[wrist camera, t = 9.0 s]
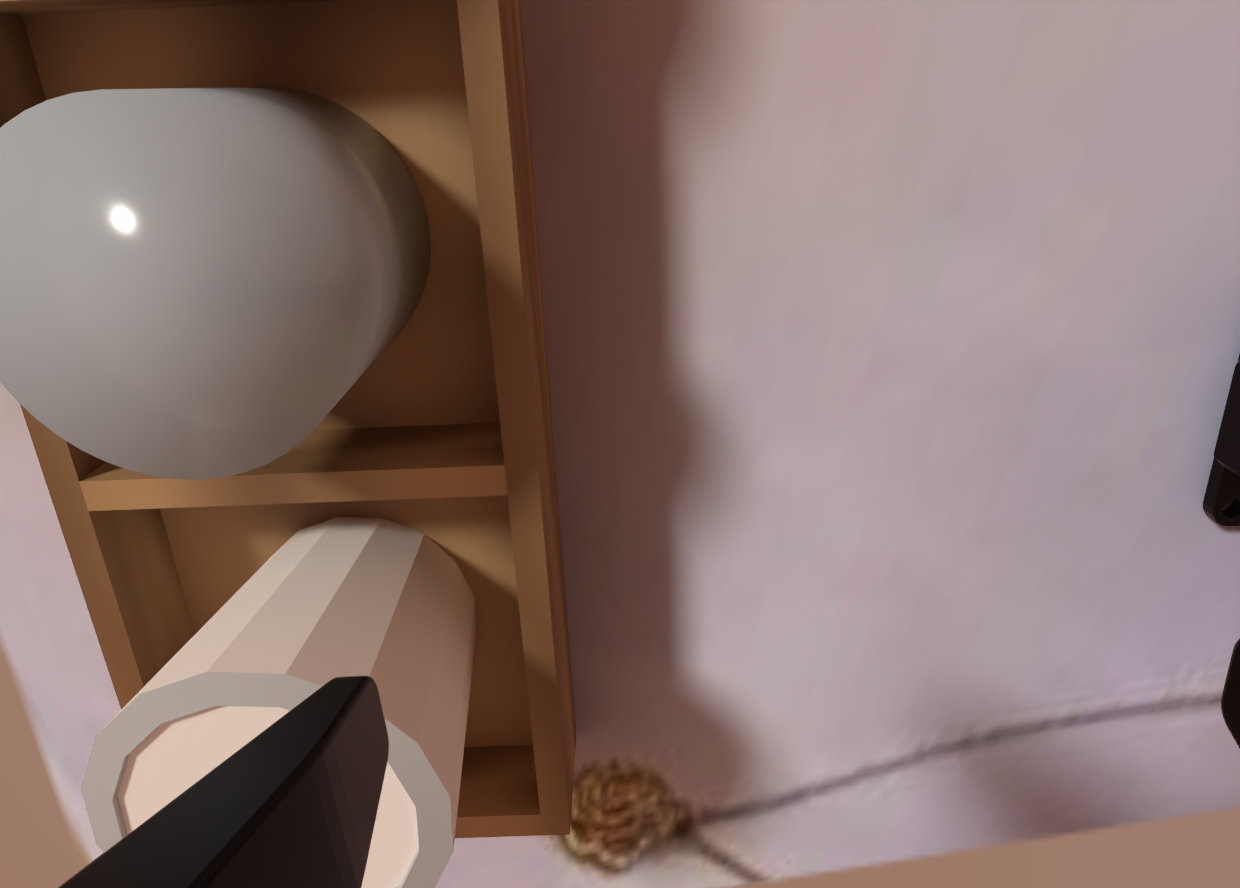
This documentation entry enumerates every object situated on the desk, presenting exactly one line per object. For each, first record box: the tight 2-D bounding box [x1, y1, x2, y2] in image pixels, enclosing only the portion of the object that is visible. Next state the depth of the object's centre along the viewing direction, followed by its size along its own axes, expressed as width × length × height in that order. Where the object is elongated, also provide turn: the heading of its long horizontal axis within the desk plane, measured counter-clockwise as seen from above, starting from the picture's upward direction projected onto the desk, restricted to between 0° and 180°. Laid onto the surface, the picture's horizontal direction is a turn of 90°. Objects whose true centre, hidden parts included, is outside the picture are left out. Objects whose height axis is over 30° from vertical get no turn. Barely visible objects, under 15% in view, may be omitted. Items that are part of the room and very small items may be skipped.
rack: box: [0, 0, 576, 838], centre depth 18 cm, size 10×30×4 cm, turn 2°
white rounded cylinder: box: [0, 87, 431, 480], centre depth 16 cm, size 6×6×6 cm
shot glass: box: [81, 517, 476, 888], centre depth 19 cm, size 7×7×7 cm
